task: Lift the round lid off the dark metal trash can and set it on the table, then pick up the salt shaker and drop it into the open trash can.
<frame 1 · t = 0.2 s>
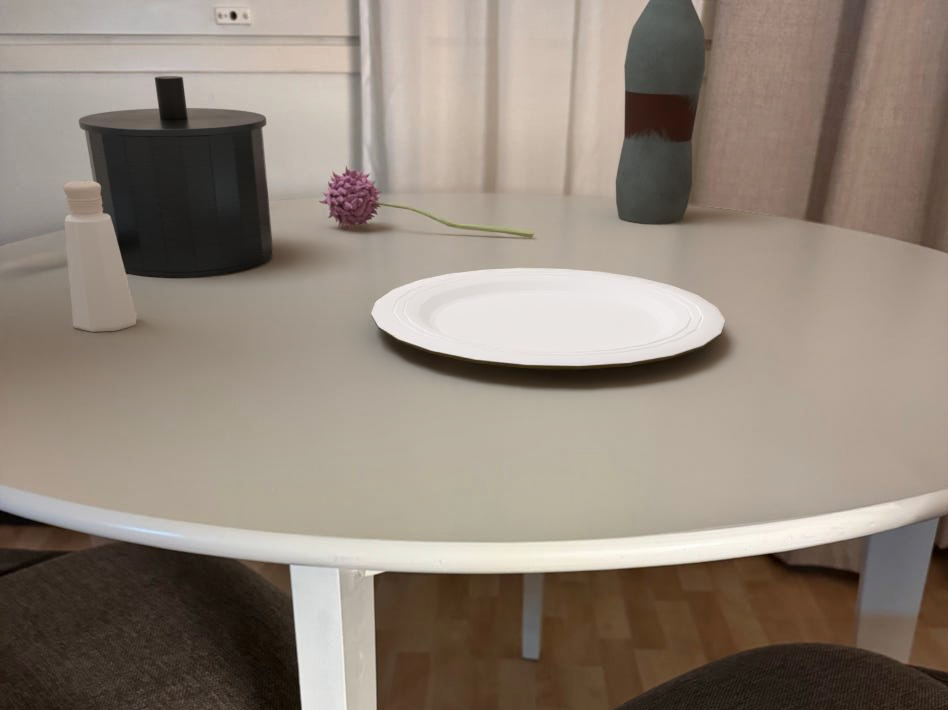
bottle: (650, 219, 131), on the table
bin lid: (174, 124, 103), point 12 cm above the table, touching trash can
trash can: (191, 258, 110), on the table
salt shaker: (106, 325, 90), on the table
artificial flower: (426, 233, 122), on the table
plate: (545, 333, 89), on the table
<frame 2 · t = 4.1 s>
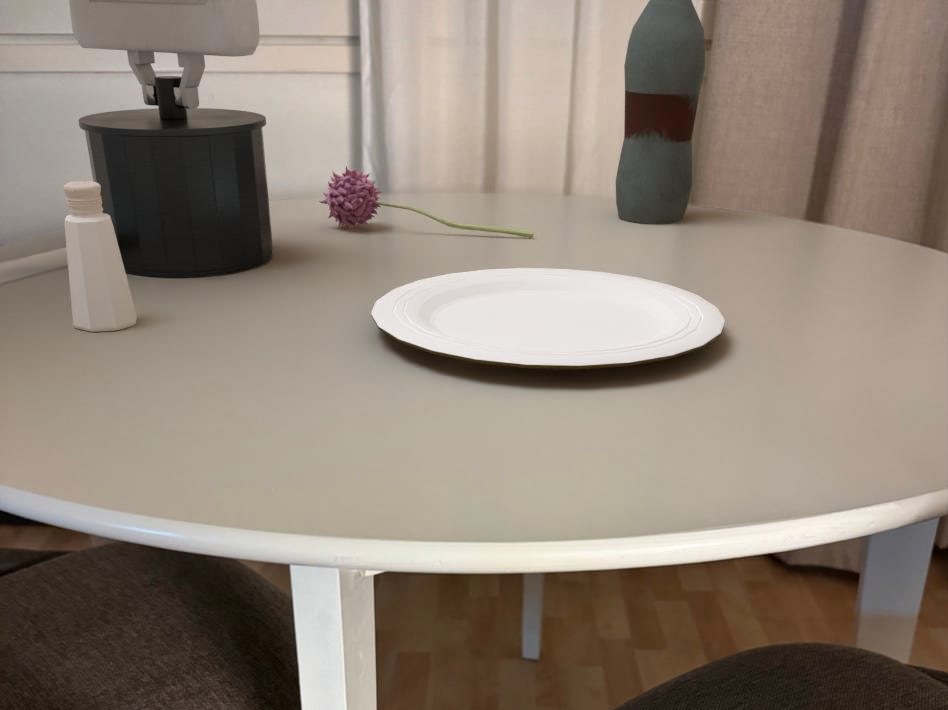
hand: (172, 106, 102), 14 cm above the table, tool pointing down, fingers closed on bin lid, 2 cm apart
bin lid: (174, 124, 103), point 13 cm above the table, touching gripper, trash can
everything else where it was.
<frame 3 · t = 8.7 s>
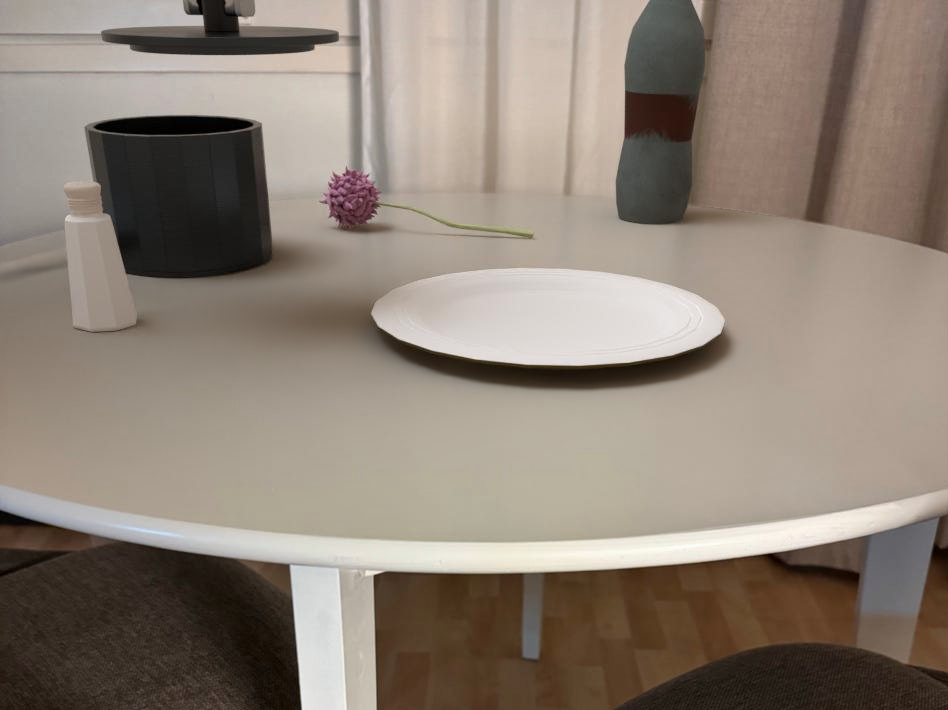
hand: (220, 15, 80), 22 cm above the table, tool pointing down, fingers closed on bin lid, 2 cm apart
bin lid: (223, 40, 81), point 21 cm above the table, touching gripper
everything else where it was.
when the fingers open (2 cm above the table, at t = 13.2 s): bin lid stays where it is, point 1 cm above the table.
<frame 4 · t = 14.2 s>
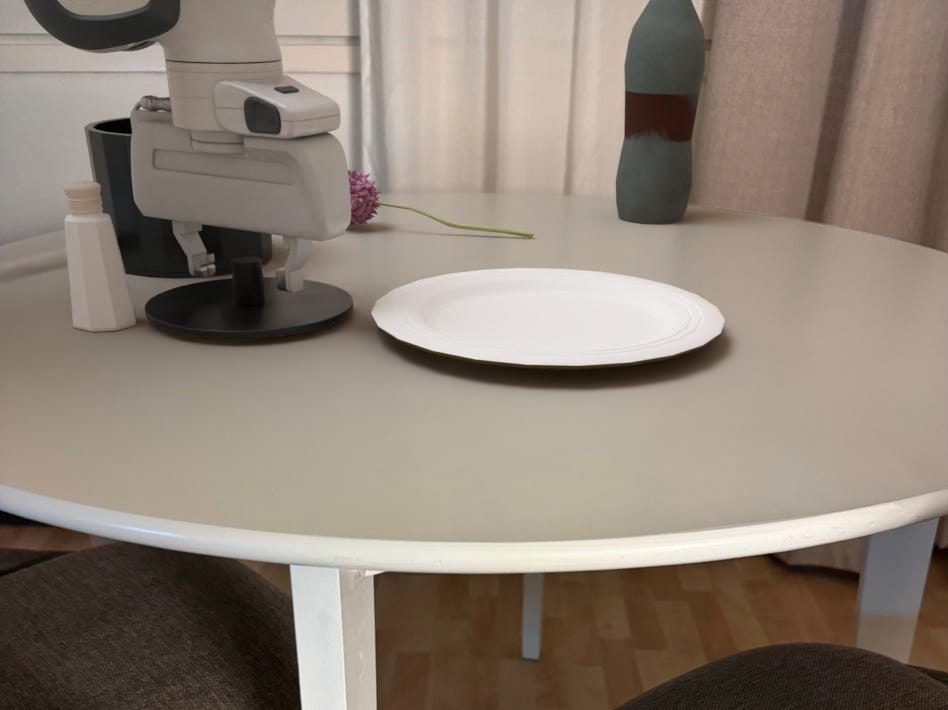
hand: (246, 282, 90), 3 cm above the table, tool pointing down, fingers open, 8 cm apart
bin lid: (250, 308, 92), point 1 cm above the table
everything else where it was.
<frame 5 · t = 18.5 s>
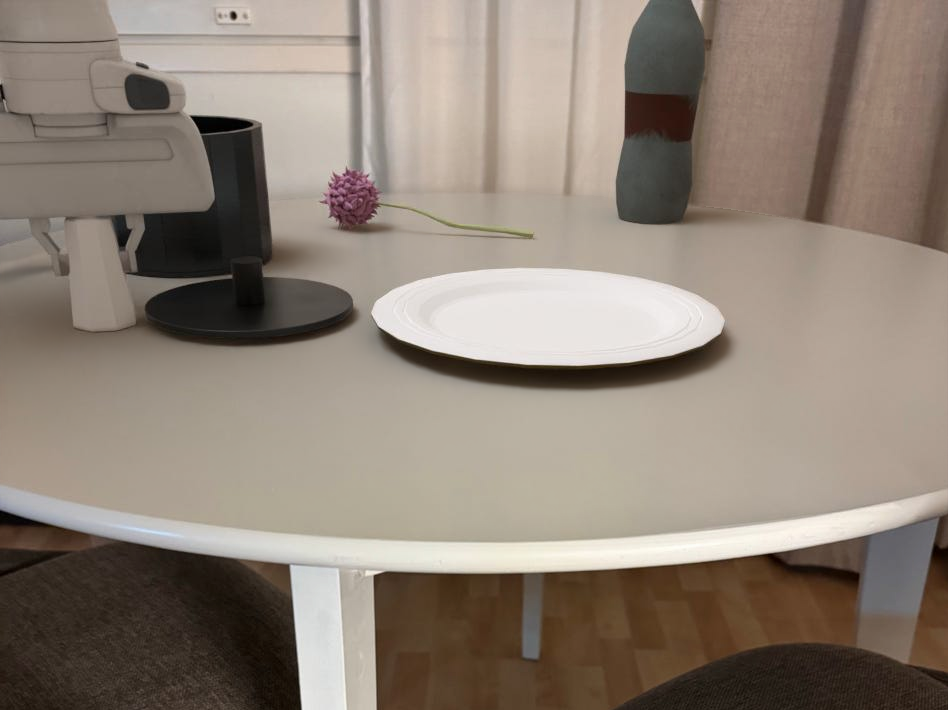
hand: (97, 273, 87), 4 cm above the table, tool pointing down, fingers closed on salt shaker, 3 cm apart
salt shaker: (106, 325, 90), on the table, touching gripper
everything else where it was.
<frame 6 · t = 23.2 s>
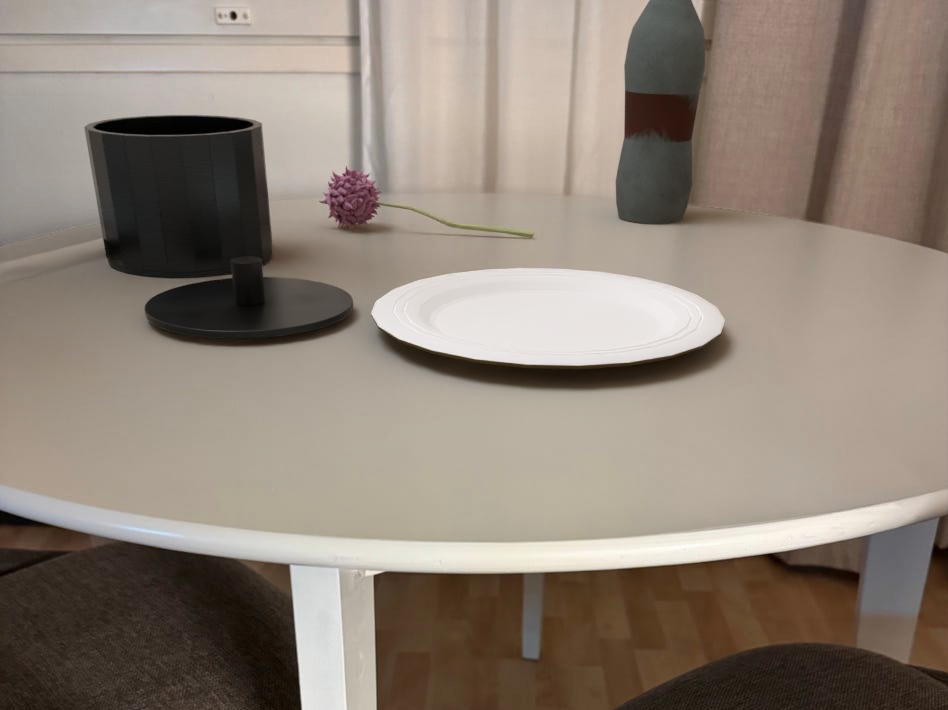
salt shaker: (151, 0, 96), point 23 cm above the table, touching gripper
everything else where it was.
when the fingers open (7 cm above the table, at t = 28.2 s): salt shaker drops 2 cm, resting on trash can.
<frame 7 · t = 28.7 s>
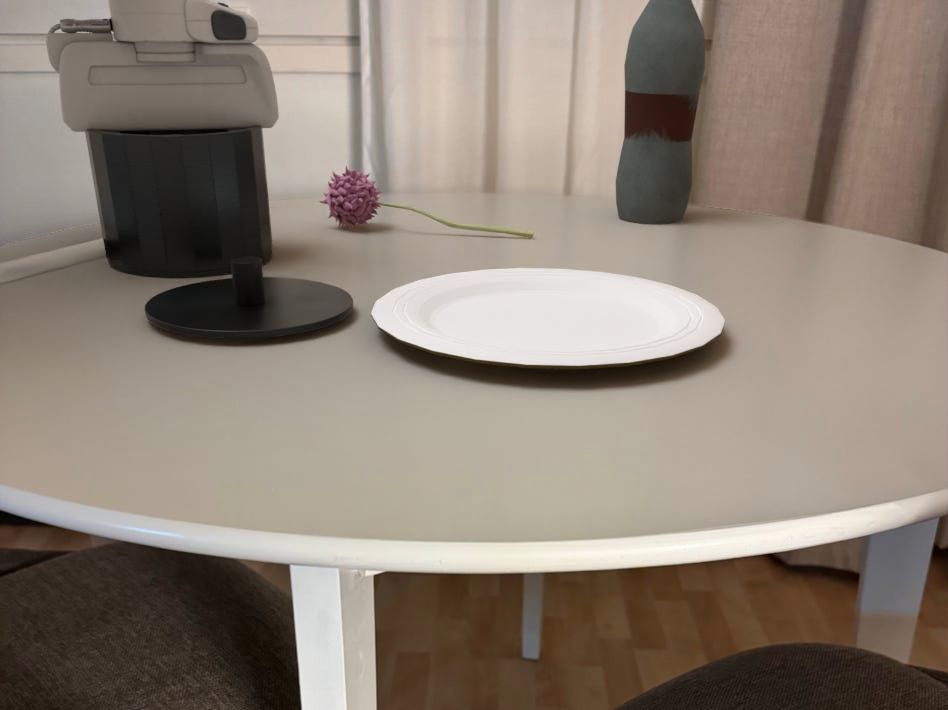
hand: (180, 179, 106), 8 cm above the table, tool pointing down, fingers open, 8 cm apart
salt shaker: (190, 255, 110), resting on trash can
everything else where it was.
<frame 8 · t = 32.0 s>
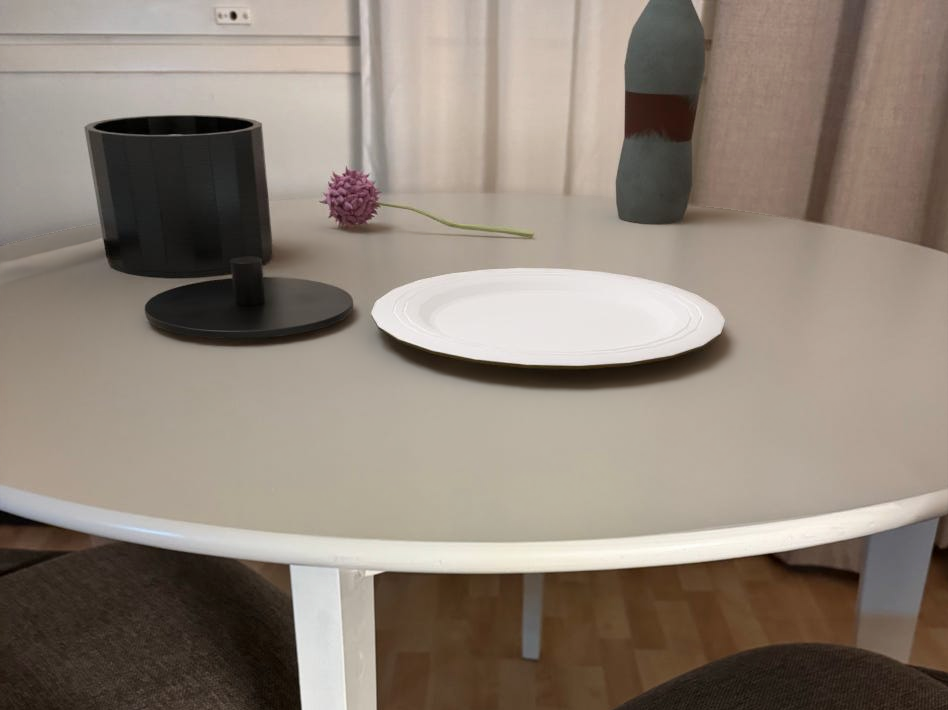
nothing on the table moved.
at the end: salt shaker inside the target area in the trash can (0.1 cm from its centre), point 0.3 cm above the trash can's base; bin lid point 0.6 cm above the table; bin lid inside the target area (0.1 cm from its centre), point 0.6 cm above the table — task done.
